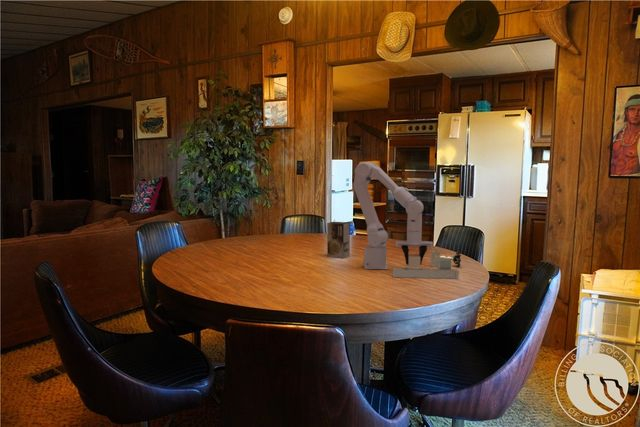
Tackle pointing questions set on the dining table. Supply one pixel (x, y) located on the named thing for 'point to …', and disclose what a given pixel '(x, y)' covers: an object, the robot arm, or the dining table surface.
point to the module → (413, 261)
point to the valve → (436, 254)
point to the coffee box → (338, 239)
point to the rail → (429, 271)
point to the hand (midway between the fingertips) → (413, 264)
